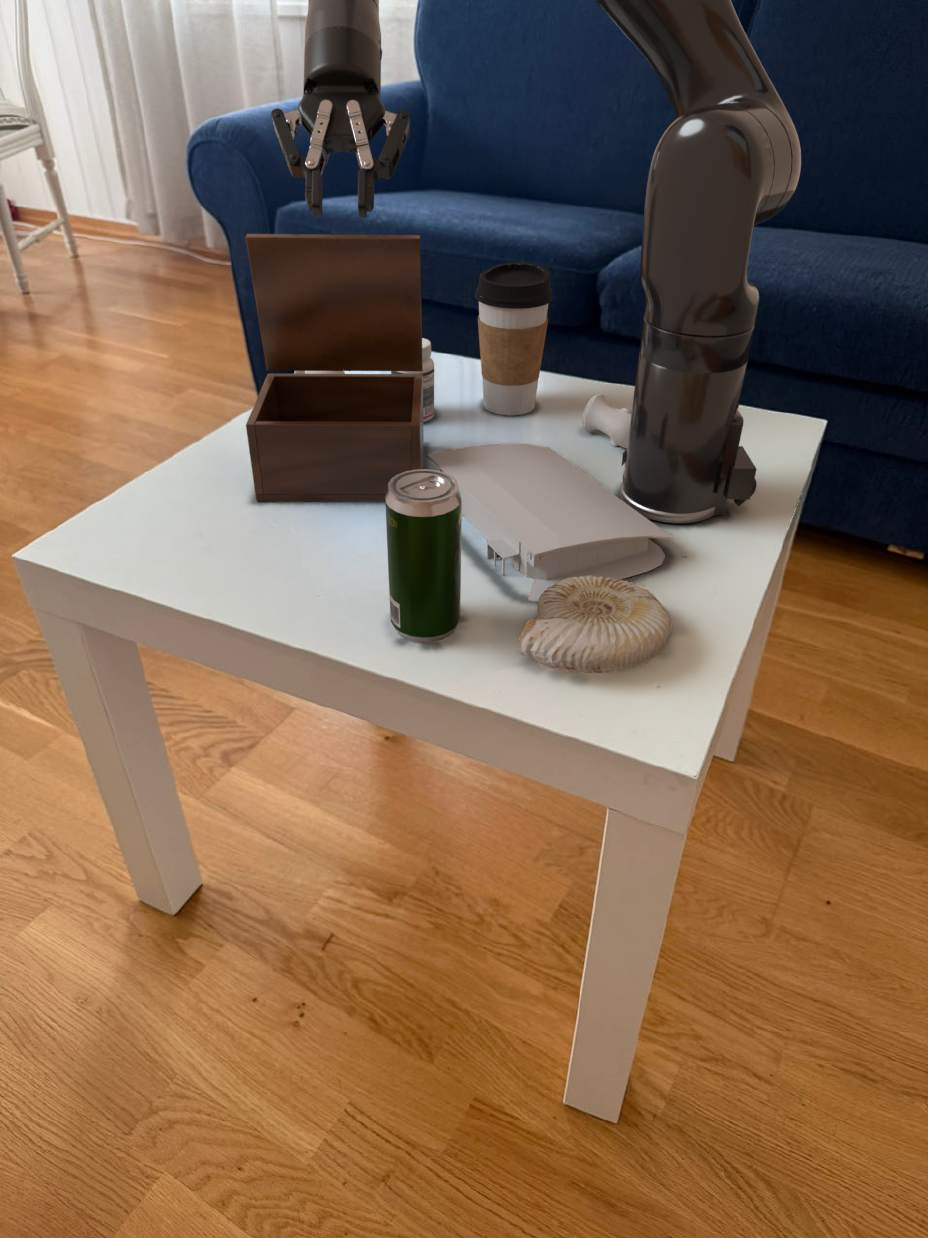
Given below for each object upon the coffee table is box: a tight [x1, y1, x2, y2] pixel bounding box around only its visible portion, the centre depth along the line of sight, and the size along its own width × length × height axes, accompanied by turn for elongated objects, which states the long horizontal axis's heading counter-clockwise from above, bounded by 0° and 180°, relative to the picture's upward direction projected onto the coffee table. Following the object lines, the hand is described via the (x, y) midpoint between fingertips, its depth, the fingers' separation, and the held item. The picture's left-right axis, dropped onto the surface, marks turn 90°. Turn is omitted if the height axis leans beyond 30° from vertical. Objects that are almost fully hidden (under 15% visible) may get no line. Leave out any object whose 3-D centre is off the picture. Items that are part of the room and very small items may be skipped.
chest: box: [245, 373, 425, 503], centre depth 89 cm, size 13×16×8 cm
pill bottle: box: [390, 337, 435, 423], centre depth 100 cm, size 5×5×8 cm
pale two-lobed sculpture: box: [582, 393, 632, 449], centre depth 97 cm, size 4×8×5 cm
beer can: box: [384, 468, 463, 644], centre depth 66 cm, size 5×5×12 cm
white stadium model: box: [426, 443, 674, 602], centre depth 82 cm, size 15×23×4 cm, turn 27°
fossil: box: [518, 576, 673, 674], centre depth 68 cm, size 12×5×10 cm
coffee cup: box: [474, 262, 554, 417], centre depth 101 cm, size 8×8×15 cm
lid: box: [245, 233, 423, 372], centre depth 86 cm, size 13×16×1 cm
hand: (340, 211), depth 87 cm, fingers open, 3 cm apart
